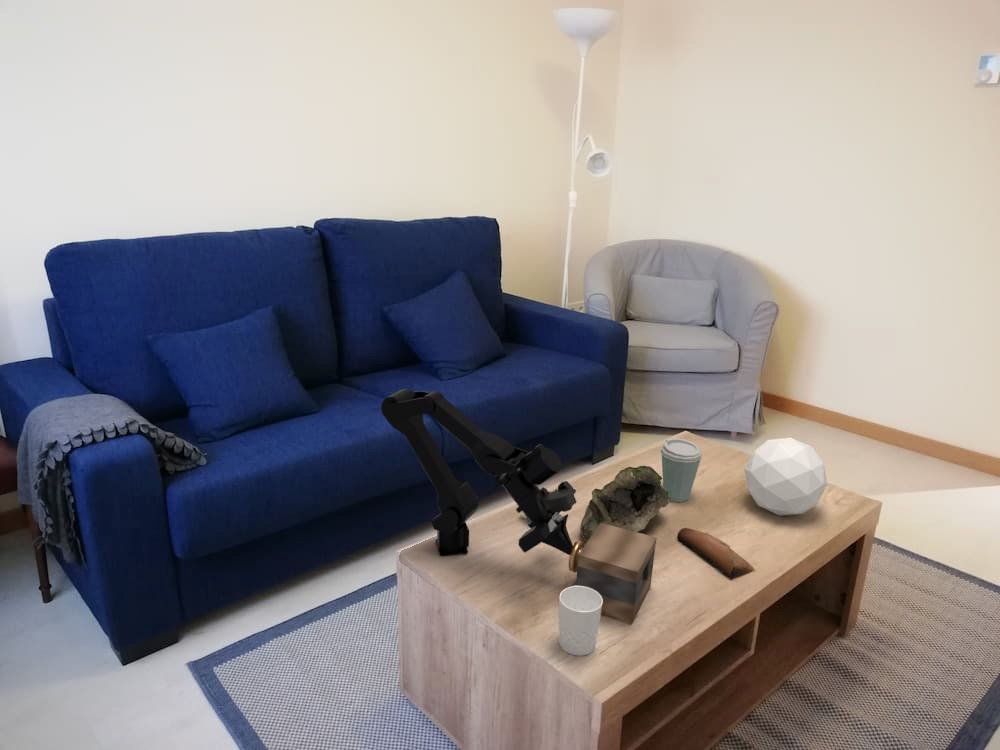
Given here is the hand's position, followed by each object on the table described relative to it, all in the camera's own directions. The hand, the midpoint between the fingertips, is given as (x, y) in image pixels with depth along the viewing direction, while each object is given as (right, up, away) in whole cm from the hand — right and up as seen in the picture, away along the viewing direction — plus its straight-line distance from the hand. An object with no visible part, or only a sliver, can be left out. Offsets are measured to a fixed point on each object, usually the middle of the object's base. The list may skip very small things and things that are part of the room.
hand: (573, 554), depth 152 cm
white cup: (-1, -13, -15) cm, 20 cm away
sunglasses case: (+34, -5, +15) cm, 38 cm away
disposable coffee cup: (+31, +5, +41) cm, 52 cm away
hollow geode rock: (+15, 0, +25) cm, 29 cm away
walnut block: (+8, -8, -1) cm, 12 cm away
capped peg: (+6, -4, -1) cm, 7 cm away
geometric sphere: (+57, +2, +37) cm, 68 cm away
